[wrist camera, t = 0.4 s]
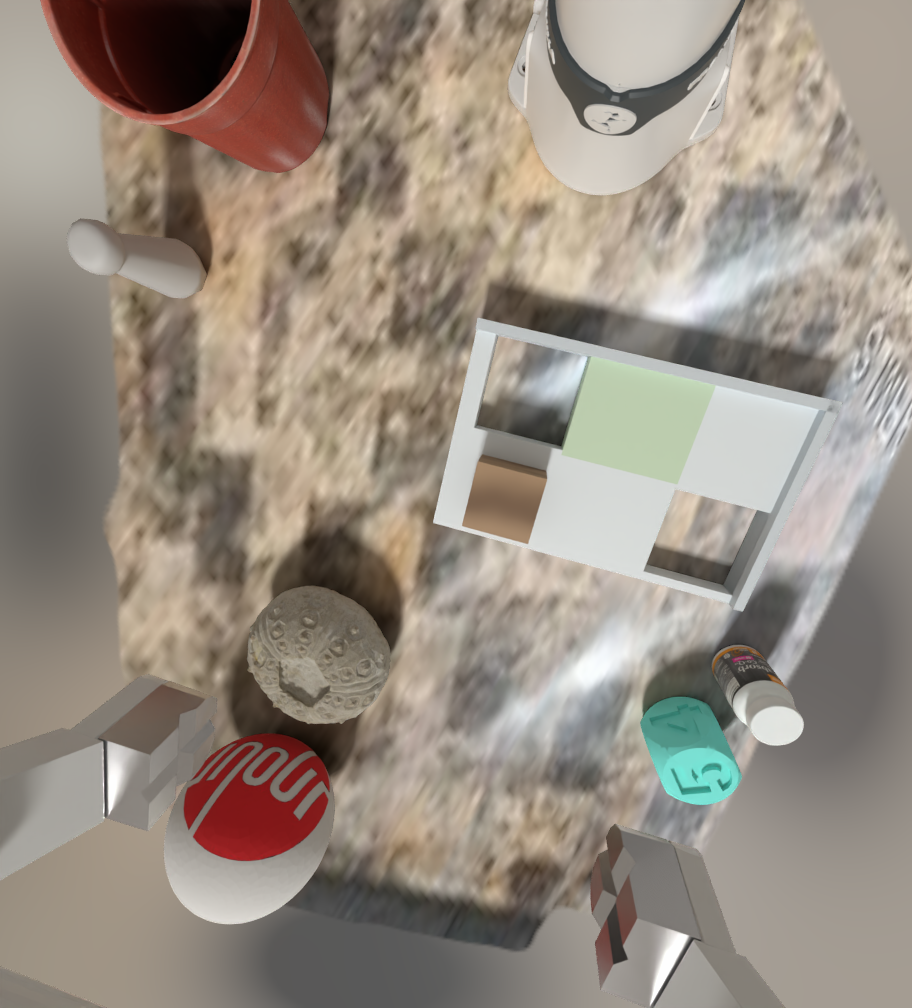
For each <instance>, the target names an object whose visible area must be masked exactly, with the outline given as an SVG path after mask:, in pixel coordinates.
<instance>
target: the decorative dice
mask: <svg viewBox="0 0 912 1008" xmlns="http://www.w3.org/2000/svg"><path fill="white" fill-rule="evenodd" d="M640 724H641V728H642V732H643V735H644V738H645V741H646V744H647V747H648V750H649V752H650V755H651V758H652V760H653V763H654V765H655V768H656V770H657V773H658V775H659V777H660V780H661V782H662V784H663V786H664V788H665V790H666V792H667V793H668V794H669V795H671V796H673V797H674V798H676V799H678V800H681V801H684V802H687V803H691V804H697V805H706V804H712V803H716V802H719V801H721V800H723V799H725V798H727V797H728V796H729V795H730V794H731V793H732V792H733V791H734V790H735V789H736V788H737V786H738V784H739V783H740V781H741V778H742V775H741V773H740V770H739V768H738V765H737V763H736V761H735V758H734V756H733V754H732V751H731V749H730V747H729V745H728V743H727V740H726V738H725V736H724V734H723V732H722V730H721V728H720V726H719V724H718V722H717V720H716V718H715V716H714V714H713V712H712V710H711V708H710V706H709V705H708V704H706V703H704V702H702V701H700V700H697V699H693V698H689V697H671V698H667V699H664V700H661V701H659V702H657V703H656V704H654V705H653V706H652V707H651V708H650V709H649V710H648V711H647V712H646V713H645V715H644V716H643V718H642V720H641V722H640Z"/></svg>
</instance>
